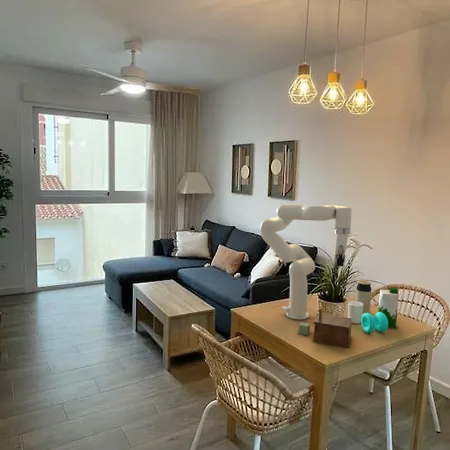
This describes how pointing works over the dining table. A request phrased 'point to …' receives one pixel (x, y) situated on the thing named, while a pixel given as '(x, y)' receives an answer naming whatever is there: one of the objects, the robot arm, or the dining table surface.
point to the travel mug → (364, 294)
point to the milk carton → (389, 305)
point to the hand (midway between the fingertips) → (340, 264)
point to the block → (304, 328)
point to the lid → (332, 320)
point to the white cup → (355, 311)
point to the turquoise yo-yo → (374, 322)
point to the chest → (332, 335)
